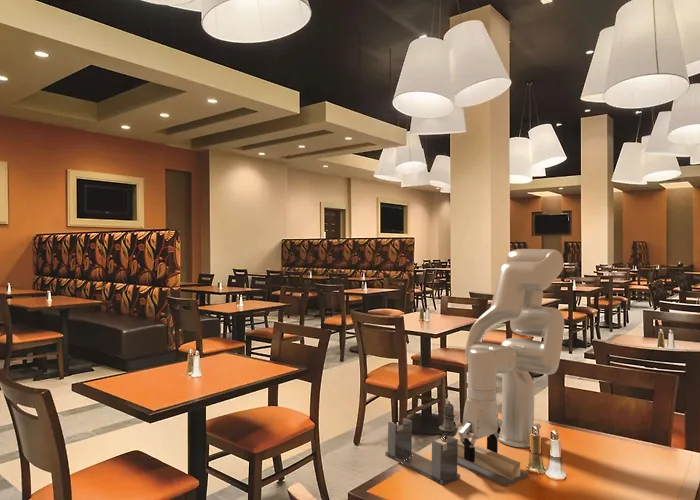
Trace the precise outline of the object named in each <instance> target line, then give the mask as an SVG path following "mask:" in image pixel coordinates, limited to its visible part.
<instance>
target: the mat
mask: <svg viewBox="0 0 700 500" xmlns="http://www.w3.org/2000/svg"><path fill="white" fill-rule="evenodd" d="M457 466H459V467H461V468H463V469H466V470H469V471H470V472H472V473H474V474H477V475H479V476H481V477H484V478H485V479H488V480H490V481H491V482H494V483H496V484H498V485H500V486H502V487H507V486H510V485H512V484H514V483H516V482H519V481H521V480H523V479H525V478H528V477H529V476H530V475H529V473H528V472H525V471H522V470H521V469H520V476H519V477H517V478H515V479H513V480H511V479H508V478H506V477H504V476H501V475H499V474H497V473H495V472H492V471H490V470H488V469H485V468H483V467H481V466H479V465H476V464H474V463H472V462H469V461H467V460H465V459H463V458H460V457H457Z"/></svg>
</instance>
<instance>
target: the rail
mask: <svg viewBox="0 0 700 500" xmlns="http://www.w3.org/2000/svg"><path fill="white" fill-rule="evenodd" d="M453 438H455V439H458V457H460V458H463V459H464V445H463V443H462V441H461V438H460V437H458V436H456V435H455V436H454V437H453ZM446 443H447V439H446V442H445V444H446ZM473 447H475V462H473V463H474V464H476V465H479V466H481V467H483V468H485V469H488V470H490V471H492V472H495V473H497V474H499V475H501V476H504V477H506V478H508V479H511V480H513V479H515V478H517V477H519V476H520V470H521V462H520V461H518V460H516V459H513V458H511V457H508V456H505V455H503V454H500V453H499V452H497V453H495V452H493V451H490V450H488V449H487V448H485V447H483V446H480V445H477V444H476V443H475V444H474V446H473ZM467 461H468V460H467ZM469 462H470V461H469Z"/></svg>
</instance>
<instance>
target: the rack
mask: <svg viewBox="0 0 700 500" xmlns="http://www.w3.org/2000/svg"><path fill="white" fill-rule="evenodd" d="M387 423H388V425H387V450H386V451H385V454H384V455H385V456H386V457H387V458H389V459H391V460H394V461H395V462H397V463H399V464H401V462H402V463H403V464H402V465H403V466H404V467H407V468H408V469H411V470H413V471H414V472H417V473H418V474H419V475H422V476H424V477H427V478H428V479H430V480H432V481H434V482H436V483H438V484H440V485H442V486H445V485H448V484H450V483H453V482H454V481H459V480H460V479H461V474H460V473H458V465H457V457H458V439H455V438H453V437H451V436H447V443H446V442H445V443H441V442H439V441H436V440H432V441H431V460H430V459H429V458H427V457H424V456H422V455H420V454H418V453H416V452H414V451H412V449H413V448H412V447H413V446H412V442H413V441H412V439H413V435H412V434H413V433H412V432H413V420H410V419H408V418H406V417H403V418H402V424H400V425H398V424H396V423H394V422H392V421H389V422H387ZM412 455H413V456H412ZM409 457H410V458H409ZM406 459H407V460H406ZM404 460H405V461H404Z"/></svg>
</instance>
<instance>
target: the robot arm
mask: <svg viewBox="0 0 700 500" xmlns="http://www.w3.org/2000/svg"><path fill="white" fill-rule="evenodd" d="M563 268H564V257H563V255H562V253H561V252H560V251H558V250H557V249H549V248H545V249H544V248H543V249H542V248H517V249H512V250H511V251H509V252H508V253H507V257H506V262H505V263H503V264H502V265H501V266H500V268H499V271H498V276H497V279H496V282H495V288H494V291H493V292H494V293H493V295H492V300H491V304H490V306H489V308H488V310H486V311H485V312H483V313H482V314H481V315H480V316H479V317H478V318H477V320H475V322H474V323H473V324H472V326H471V327H470V329H469V332H468V337H467V341H466V344H465V345H466V346H465V349H464V358H465V362H466V363H467V367H468V368H467V398H466V399H465V403H464V408H463V415H462V416H463V417H462V428H461V429H460V430H458V435H459V438H460V439H461V441H462V443H463V445H464V459H465V460H468V461H470V462H472V463H473V462H475V447H473V446H474V444H475V445H476V442H477V440H480V439H483V438H486V449H488V450H490V451H493V452H495V453H499V451H498V449H499V448H498V446H499V445H498V444H499V443H498V441H499V442H500V443H501V444H503V445H506V446H509V447H515V448H522V449H523V448H524V449H525V448H526V449H527V448H530V447H529V445H530V434H531V429H532V427H534V426H537V427H538V428H539V430H541V428H542V425H541V423H539V422H538V423H535V383H534V379H533V378H532V376H531V374H530V373H535V374H542V375H553V374H556V372H557V370H558V368H559V366H560V365H559V364H560V360H561V353H562V346H563V340H564V332H565V318H564V314H563V313H562V311H561V310H560V309H558V308H556V307H550V306H543V305H542V303H543V296H544V292H543V291H546V290H547V289H548V288H549V287H550V286H551V285H552V284H553V283H554V281H556V279H557V278H558V277H559V276H560V274H561V273H562V271H563ZM508 321H509V323H510V324H509V326H510V330H511V331H512V332H513V333H515V334H518V335H522V336H528V337H534V338H535V337H536V338H543V341H542V340H540V341H539V340H534V339H528V338H520V337H511V338H506V339H505V340H503V341H502V342H501V344H496V343H490V342H483V339H484V337H485V335H486V333H487V332H489V330H491V329H492V328H494V327H495V326H498V325H500V324H502V323H506V322H508ZM497 374H501V377H502V378H501V379H502V386H501V387H502V388H501V389H502V390H501V391H502V392H501V418H499V411H498V400H497ZM470 439H471V440H470Z"/></svg>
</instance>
